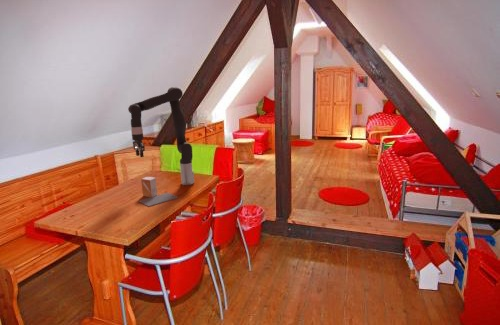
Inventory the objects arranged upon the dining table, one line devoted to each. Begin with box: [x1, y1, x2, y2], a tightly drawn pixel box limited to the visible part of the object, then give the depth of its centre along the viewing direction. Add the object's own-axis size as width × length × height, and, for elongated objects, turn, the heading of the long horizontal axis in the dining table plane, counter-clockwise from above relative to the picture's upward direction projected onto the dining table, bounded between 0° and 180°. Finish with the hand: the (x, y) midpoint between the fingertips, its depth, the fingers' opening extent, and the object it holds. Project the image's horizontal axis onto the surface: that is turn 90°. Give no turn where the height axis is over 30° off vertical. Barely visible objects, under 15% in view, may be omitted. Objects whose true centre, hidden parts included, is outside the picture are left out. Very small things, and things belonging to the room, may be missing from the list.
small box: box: [140, 176, 158, 198], centre depth 217 cm, size 8×6×13 cm
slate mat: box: [138, 192, 179, 208], centre depth 210 cm, size 22×14×1 cm, turn 134°
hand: (139, 156), depth 219 cm, fingers open, 5 cm apart
